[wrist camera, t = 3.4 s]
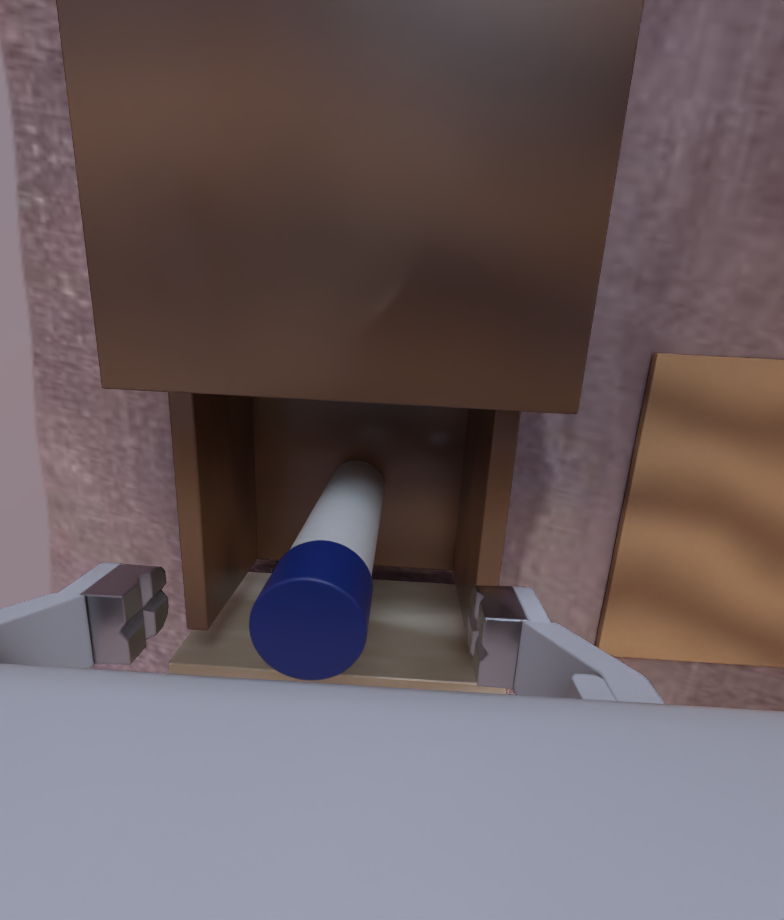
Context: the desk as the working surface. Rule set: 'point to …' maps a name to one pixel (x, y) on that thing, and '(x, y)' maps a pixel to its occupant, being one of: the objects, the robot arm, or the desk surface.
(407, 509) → the drawer
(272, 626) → the marker
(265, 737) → the robot arm
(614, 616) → the cork pad
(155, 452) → the desk surface
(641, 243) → the desk surface
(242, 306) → the cabinet
